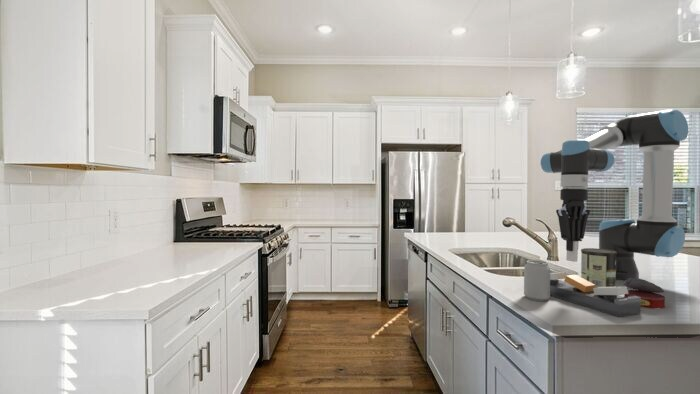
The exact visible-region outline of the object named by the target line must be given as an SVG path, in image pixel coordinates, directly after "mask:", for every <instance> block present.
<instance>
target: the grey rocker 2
mask: <svg viewBox="0 0 700 394" xmlns="http://www.w3.org/2000/svg"><path fill="white" fill-rule="evenodd" d="M593 290H594V295H618V296H622V295H623V296H624V294H628V290H629V289H628V287H627V286H616V287H598V288H593Z"/></svg>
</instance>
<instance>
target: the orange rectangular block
mask: <svg viewBox="0 0 700 394" xmlns="http://www.w3.org/2000/svg"><path fill="white" fill-rule="evenodd" d="M566 275H567V276H566V277H565V279H563V281H565V282H567V283H569V284H570V285H572V286H574V287H576V288H578V289H580V290H581V291H583V292H589V291H594V290H593V288H595V286H596V285H595V284H593V283H591V282H589V281H587V280H585V279H583V278H581V276H579V275H578V274H566Z"/></svg>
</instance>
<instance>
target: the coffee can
mask: <svg viewBox="0 0 700 394" xmlns="http://www.w3.org/2000/svg"><path fill="white" fill-rule="evenodd" d="M580 252H581V253H580V254H581V256H580V257H581V258H580V259H581V261H580V262H581V263H580V268H581V269H580V277H581V278H583V279H585V280H587V281H589V282H591V283H593V284H595V285H596V286H595V288H598V287H617V286H616V254H617V252H616V251H612V250H607V249H599V248H593V247H586V248H584V247H583V248H581V249H580Z"/></svg>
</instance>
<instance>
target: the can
mask: <svg viewBox="0 0 700 394" xmlns="http://www.w3.org/2000/svg"><path fill="white" fill-rule="evenodd" d="M523 268H524V270H523V274H524V275H523V276H524V277H523V295H524V296H525V297H526V298H527V299H528V300H533V301H536V302H537V301H538V302H539V301H540V302H544V301H547V300H548V299H550V297H551V296H550V273H551V267H550V265H549V263H548V262H547V261H544V260H537V259H536V260H535V259H529V260H526V264H524V266H523Z"/></svg>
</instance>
